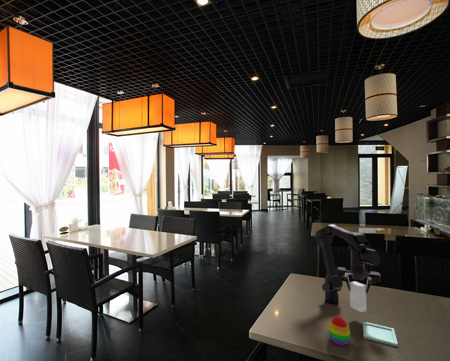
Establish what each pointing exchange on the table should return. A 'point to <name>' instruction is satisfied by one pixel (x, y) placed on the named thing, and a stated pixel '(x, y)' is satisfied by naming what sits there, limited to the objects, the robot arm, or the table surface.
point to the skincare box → (358, 296)
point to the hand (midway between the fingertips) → (357, 291)
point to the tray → (379, 334)
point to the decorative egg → (339, 331)
